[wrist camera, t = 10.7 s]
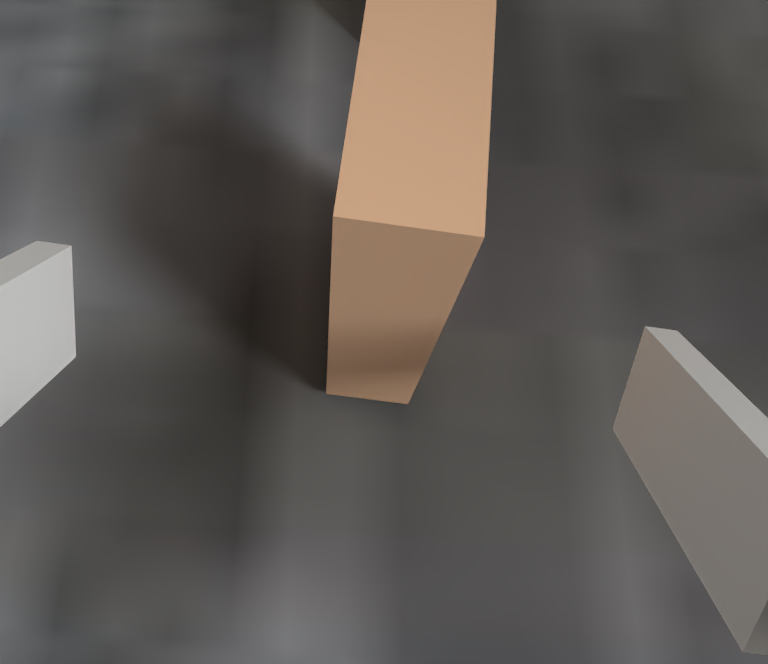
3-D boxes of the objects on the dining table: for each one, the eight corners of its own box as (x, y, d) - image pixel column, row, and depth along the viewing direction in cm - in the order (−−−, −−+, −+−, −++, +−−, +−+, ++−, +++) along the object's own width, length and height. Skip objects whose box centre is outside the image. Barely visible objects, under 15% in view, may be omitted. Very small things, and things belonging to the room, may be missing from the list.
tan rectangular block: (423, 238, 27) (497, -18, 16) (408, 404, 24) (484, 237, 13) (349, 227, 27) (372, -38, 16) (326, 393, 24) (332, 216, 13)
